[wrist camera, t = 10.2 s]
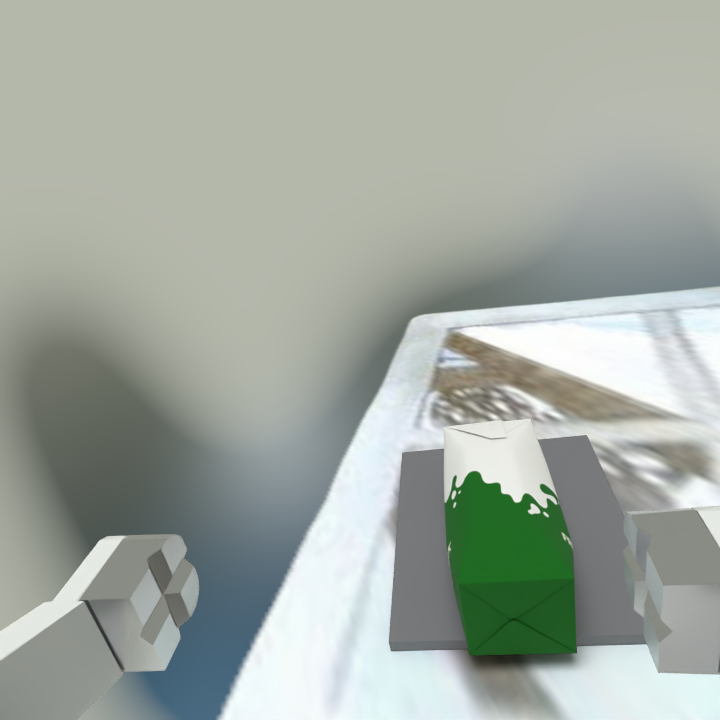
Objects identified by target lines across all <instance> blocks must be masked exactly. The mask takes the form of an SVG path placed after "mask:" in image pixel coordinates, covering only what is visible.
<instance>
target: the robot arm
mask: <svg viewBox="0 0 720 720" xmlns="http://www.w3.org/2000/svg"><path fill="white" fill-rule="evenodd" d="M623 531H624V533H625V536H626V538H627V541H628V543H629V545H628V546H627V547H626V548H625V549H624V550H623V569H624V576H625V582H626V586H627V590H628V594H629V597H630V600H631V603H632V605H633V608H634V610H635V611H636V612H638V613H639V614H640V615H641V616H643V617H644V624H643V635H644V637H645V640H646V643H647V645H648V648H649V650H650V653H651V655H652V658H653V661H654V663H655V666H656V668H657V671H658V673H687V674H720V506H709V507H694V508H691V509H689V508H686V509H668V510H651V511H633V512H626V513H625V516H624V527H623ZM186 550H187V548H186V546H185V544H184V542H183V540H182V538H181V536H178V535H175V534H163V535H130V536H107V537H106V538H104V539H102V540H100V541H99V542H98V543H97V545H96V546H95V547H94V549H93V550H92V551H91V552H90V554H89V555H88V556H87V558H86V559H85V560H84V561H83V563H82V564H81V565H80V567H79V568H78V569H77V571H76V572H75V573H74V574H73V576H72V577H71V578H70V579H69V581H68V582H67V583H66V585H65V586H64V587H63V589H62V590H61V591H60V592H59V594H58V595H57V596H56V597H55V599H54V600H53V601H52V602H44V603H43V604H41V605H40V606H39V607H37V608H35V609H34V610H32V611H31V612H29V613H28V614H26V615H25V616H23V617H22V618H20V619H19V620H17V621H15V622H14V623H12V624H11V625H9V626H8V627H6V628H5V629H4V630H2V631H0V720H77V719H78V718H79V717H80V716H81V715H82V714H83V713H84V712H85V711H86V710H87V709H88V708H89V707H90V706H91V705H92V704H94V703H95V702H96V701H97V700H98V698H99V697H101V696H102V695H103V694H104V692H106V691H107V690H108V689H109V688H110V687H111V686H112V685H113V684H114V683H115V682H116V681H117V680H118V679H119V678H120V677H121V676H122V675H123V673H122V672H130V671H163V670H165V669H166V667H167V665H168V663H169V661H170V659H171V657H172V655H173V653H174V651H175V649H176V646H177V644H178V642H179V640H180V638H181V637H180V633H179V629H178V627H179V626H181V625H182V624H183V623H184V622H185V621H187V620H188V619H189V618H190V617H191V615H192V613H193V611H194V609H195V606H196V604H197V599H198V592H199V582H198V576H197V573H196V570H195V568H194V566H193V565H191V564H190V563H189V562H188V561H186V560H185V559H184V558H183V557H184V555H185V553H186Z"/></svg>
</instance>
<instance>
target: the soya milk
mask: <svg viewBox="0 0 720 720" xmlns="http://www.w3.org/2000/svg"><path fill="white" fill-rule="evenodd" d="M444 502H445V525H446V546H447V553H448V559H449V567H450V573H451V578H452V583H453V588H454V592H455V596H456V600H457V605H458V609H459V613H460V617H461V621H462V626H463V630H464V634H465V638H466V642H467V646H468V651H469V655H511V654H553V653H577V645H576V613H575V581H574V557H573V546H572V542H571V538H570V535H569V531H568V528H567V525H566V522H565V519H564V516H563V513H562V509H561V506H560V503H559V500H558V497H557V494H556V491H555V488H554V484H553V481H552V478H551V475H550V472H549V469H548V466H547V463H546V461H545V458H544V455H543V453H542V450H541V447H540V444H539V442H538V439H537V436H536V433H535V431H534V428H533V425H532V422H531V419H524V420H514V421H504V422H502V420H497V421H490V422H484V423H475V424H466V425H457V426H448V427H445V428H444Z"/></svg>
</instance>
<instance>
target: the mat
mask: <svg viewBox="0 0 720 720" xmlns="http://www.w3.org/2000/svg"><path fill="white" fill-rule="evenodd" d="M538 442H539V444H540V447H541V450H542V453H543V455H544V458H545V461H546V463H547V466H548V469H549V472H550V475H551V478H552V481H553V484H554V488H555V491H556V494H557V497H558V500H559V503H560V506H561V509H562V513H563V516H564V519H565V522H566V525H567V528H568V531H569V535H570V538H571V542H572V546H573V557H574V581H575V613H576V645H577V646H587V645H623V644H647V643H646V640H645V637H644V635H643V624H644V617H643V616H641V615H640V614H639V613H638V612H636V611H635V610H634V608H633V605H632V603H631V600H630V597H629V594H628V590H627V586H626V582H625V576H624V569H623V550H624V549H625V548H626V547H627V546H628V545H629V543H628V541H627V538H626V536H625V533H624V531H623V527H624V515H623V513H622V511H621V509H620V506H619V504H618V502H617V500H616V498H615V496H614V493H613V491H612V489H611V487H610V485H609V482H608V480H607V478H606V476H605V474H604V472H603V469H602V467H601V465H600V463H599V461H598V459H597V456H596V454H595V452H594V450H593V448H592V446H591V443H590V441H589V439H588V437H587V435H583V436H573V437H562V438H552V439H541V440H538ZM389 644H390V648H391V651H409V650H445V649H468V646H467V642H466V638H465V634H464V630H463V626H462V621H461V617H460V613H459V609H458V605H457V600H456V596H455V592H454V588H453V583H452V578H451V573H450V567H449V559H448V553H447V546H446V525H445V502H444V449H436V450H425V451H415V452H404V453H402V464H401V478H400V493H399V507H398V521H397V535H396V549H395V563H394V578H393V592H392V606H391V620H390V634H389Z"/></svg>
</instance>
